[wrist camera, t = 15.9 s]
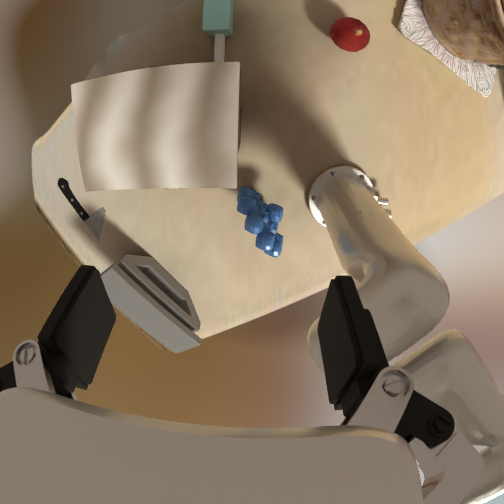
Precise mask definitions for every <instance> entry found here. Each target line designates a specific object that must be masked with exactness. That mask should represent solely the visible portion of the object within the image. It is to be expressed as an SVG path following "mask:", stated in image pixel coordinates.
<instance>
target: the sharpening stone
mask: <svg viewBox="0 0 504 504" xmlns="http://www.w3.org/2000/svg"><path fill="white" fill-rule="evenodd" d="M100 275H101V278H102V281H103V283H104V286H105V289H106V291H107V294H108V297H109V299H110V302H111V303H112V304H113V305H114V306H115V307H116V308H118V309H119V310H120V311H121V312H122V313H124V314H125V315H126V316H127V317H128V318H130V319H131V320H132V321H133V322H134V323H136V324H137V325H138V326H139V327H141V328H142V329H143V330H145V331H146V332H147V333H148V334H150V335H151V336H152V337H154V338H155V339H156V340H158V341H159V342H160V343H162V344H163V345H164V346H166V347H167V348H168V349H170V350H171V351H173V352H174V353H175V354H177V353H179V352H182V351H185V350H188V349H190V348H193V347H196V346H199V345H201V340H202V339H201V338H200V337H198V336H197V335H196V334H195V333H194V332H196V331H198V330H199V329H200V320H199V318H198V315H197V313H196V310H195V308H194V305H193V303H192V300H191V298H190V295H189V293H188V291H187V290H186V289H185V288H184V287H183V286H182V285H181V284H180V283H179V282H178V281H177V280H176V279H175V278H174V277H173V276H172V275H171V274H170V273H169V272H168V271H167V270H166V269H164V268H163V267H162V266H161V265H160V264H159V263H158V262H157V261H156V260H155V259H154V258H153V257H147V256H138V255H130V254H126V255H124V256H123V257H122V258H120V259H119V260H118V261H117V262H115V263H114V264H112V265H111V266H110V267H109V268H107V269H106V270H105V271H104V272H102V273H101V274H100Z"/></svg>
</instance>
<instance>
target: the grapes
mask: <svg viewBox="0 0 504 504" xmlns="http://www.w3.org/2000/svg"><path fill="white" fill-rule="evenodd" d="M237 201H238V206H237V211H238V212H240V213H242V214H244V215H247V217H246V220H245V230H247V231H248V232H250V233H253V234H257V237H256V247H258V248H259V249H261V250H264V252H265V253H266V254H268V255H270V256H272V257H278V256H279V255H280V253H281V250H282V243H283V236H282V235H280V234H278V233H277V228H278V222H280V221H281V219H282V216H283V207H281V206H279V205H277V204H273V203H271V204H269V205H267V204H266V203H264V202H262V201H260V193H258V192H256V191H254V190H252V189H250V188H248V187H241V188H240V189H239V191H238V197H237Z"/></svg>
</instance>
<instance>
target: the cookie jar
mask: <svg viewBox="0 0 504 504" xmlns="http://www.w3.org/2000/svg"><path fill="white" fill-rule="evenodd" d="M398 29H399V30H400V31H401V32H402V33H403V35H404V36H405V37H406V38H408V39H410V40H411V41H413V42H414V43H415V44H417V45H419V46H421V47H422V48H424V49H425V50H427V51H428V52H430V53H431V54H432V55H434V56H435V57H436V58H438V59H439V60H441V61H442V62H443V63H444V64H445V65H446V66H447V67H448V68H449V69H450V70H452V71H453V72H454V73H455V74H456V75H457V76H459V77H461V78H462V79H463V80H464V81H465V82H466V83H467V84H468V85H469V86H470V87H471V88H473V89H475V90H476V91H478V92H479V93H480V94H481V95H482V96H484V97H487V96H489V95H490V92H491V91H492V88H493V82H494V81H493V80H494V79H495V73H496V69H504V0H406V2H405V4H404V9H403V12H402V14H401V19H400V22H399V24H398Z"/></svg>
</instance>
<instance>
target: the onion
mask: <svg viewBox="0 0 504 504" xmlns="http://www.w3.org/2000/svg"><path fill="white" fill-rule="evenodd" d="M330 33H331V38H332V40H333V41H334V43H335V44H336V45H337V46H338V47H340V48H341V49H344V50H346V51H350V52H357V51H359V50H361V49H364V48H365V47H366V46H367V44H368V43H369V39H370V33H369V30H368V28H367V27H366V25H365V24H363V23H362V22H361V21H360V20H358V19H355V18H351V17H345V18H341V19H339V20H337V21H335V23H334V24H333V25H332V27H331V32H330Z"/></svg>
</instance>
